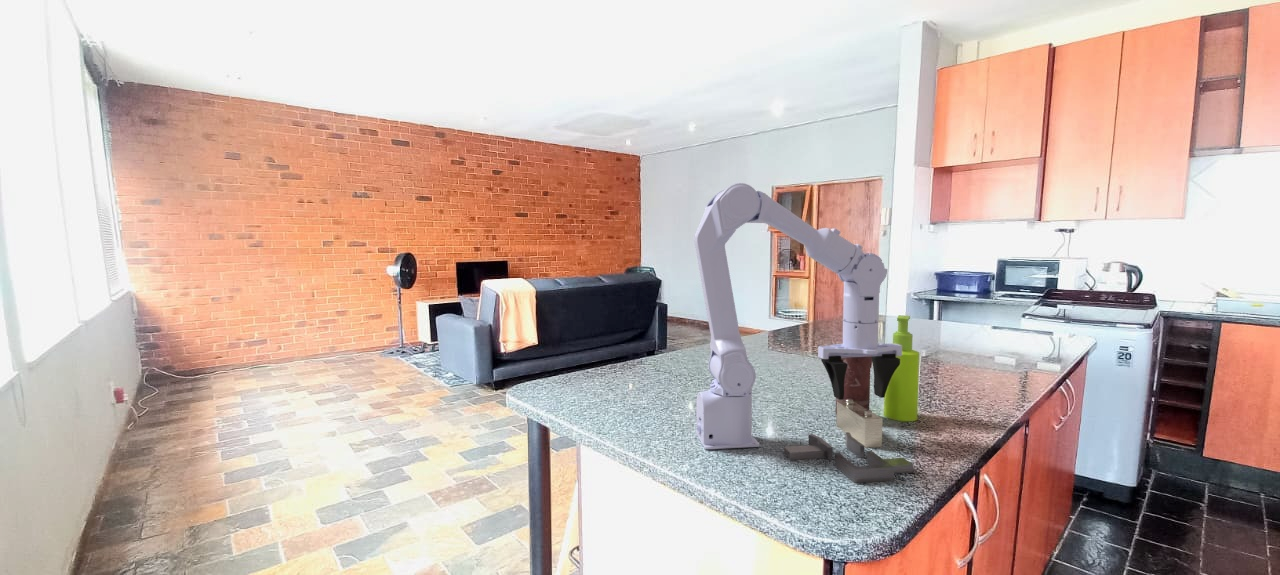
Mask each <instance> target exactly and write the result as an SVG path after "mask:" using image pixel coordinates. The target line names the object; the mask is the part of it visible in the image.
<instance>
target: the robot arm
mask: <svg viewBox="0 0 1280 575" xmlns="http://www.w3.org/2000/svg"><path fill="white" fill-rule="evenodd" d="M699 222H700V223H699V225H698V227H697V229H696V232H695V235H694V240H693V241H694V246H695V247H694V248H695V252H696V258H697V264H698V269H699V276H700V281H701V287H702V293H703V297H704V304H705V310H706V316H707V322H708V327H709V332H710V343H709V347H710V357H709V359H708V364H707V367H708V370H709V373H710V375H711V376H712V377H713V380H712V381H711V383H710V385H709V389H707V390H704V391H699V392H697V395H696V408H695V409H696V412H695V413H696V430H695V434H696V436H697V437H698V439H699V441H700V444H702V446H703V448H704V449H705V450H720V449H721V450H722V449H724V450H725V449H737V448H738V449H739V448H740V449H741V448H743V449H744V448H759V447H760V445H761V444H760V443H759V441H758V440H757V439H756V438H755V436H754V435H753V434H752V429H753V428H752V425H753V423H752V422H753V420H752V419H753V418H752V417H753V416H752V415H753V411H752V409H753V404H752V403H753V401H752V400H753V386H754V385H755V382H756V375H757V374H756V369H755V367H754V366H753V364H752V363H751V362H750V361H749V359H748V355H747V351H746V350H747V349H746V347H745V344H744V342H743V340H742V338H741V334H740V329H739V328H740V327H739V322H738V315H737V309H736V305H735V299H734V293H733V288H732V281H731V280H732V279H731V275H730V270H729V263H728V258H727V251H726V244H727V242H728V241H729V240H730V239H731V237H732V236H733V235H734V234H735V232H736V231H737V229H739V228H741V227H743V226H744V225H745V224H765V225H768V226H769V227H771V228H773V229H775V230H777V231H779V232H780V233H781V234H784V235H786V236H787V237H789V238H791V239H792V240H794V241H796V242H798V243H800V244H802V245H803V246H804V249H805V252H806V255H807V256H808V257H809V258H811V259H812V260H814V261H815V262H817V263H819V264H821V265H822V266H823V267H825V268H827V269H828V270H830V271H831V272H833V273H834V274H837V276H838V278H839V280H840V281H841V282H843V298H842V303H843V304H842V309H843V310H842V343H838V344H830V345H819V346H818V348H817V357H818V358H820V361H821V363H822V365H823V366H824V368H825V370H826V372H827V375H828V378H829V381H830V385H831V387H832V392H833V397H835V399H836V398H837V399H839V400H843V398H844V380H845V373H846V369H847V366H848V364H847V363H845V362H843V359H842V360H841V358H844V357H869V356H871V358H872V368H873V391H874V395H875V396H877V397H879V398H882V399H884V397H885V394H886V390H887V387H888V384H889V382H890V379H891V377H892V375H893V373H894V372H895V370H896V369H897V367H898V366H899V365H900V359H899V358H896V356H902V345H899V344H893V343H879V320H880V318H879V317H880V316H879V315H880V293H881V286H882V284H883V282H884V281H885V279H886V277H887V274H888V269H887V268H885V262H883V260H882V258H881V257H880V256H879V255H878V254H875V253H872V252H864V250H863V246H862V245H861V244H859V243H856V244H854V243H852V242H851V241H850V240H848V239H846V238H845V237H843V236H841V235H840V234H841V230H839V229H837V228H836V227H834V228H831V229H830V228H828V227H822V228H819V229H816V228H815V227H814V226H812V225H811V224H809V223H807V221H804V220H803V219H802V218H800V217H799V216H798V215H796V214H795V213H793V212H792V211H790V210H789V209H788V208H786V207H785V206H783V205H782V204H780V203H779V202H777V201H776V200H775V199H773V198H772V197H770V195H768V194H767V193H766V192H763V191H761V190H757V189H755V188H754V187H752V186H751V185H750V184H747V183H744V182H742V183H741V182H738V183H734V184H731V185H730V186H729V187H727V188H726V189H723V190H721V191H719V192H717V193H716V194H715V195H714V196H713V197H712V198H711V200H710V201H708V203H707V204H706V205H705V209H704V213H703V215H702V217H701V219H700V221H699ZM852 353H853V354H852Z"/></svg>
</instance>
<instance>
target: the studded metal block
mask: <svg viewBox="0 0 1280 575" xmlns="http://www.w3.org/2000/svg"><path fill="white" fill-rule="evenodd" d="M836 428H838V429H839V430H840V431H842V432H843V433H844V434H846V432H850V434H851V436H852V437H853V438H854V439H856V440H857V441H858V442H860V443H861V444H863V445H864V446H865V447H864V449H865V448H882V447H883V417H880V416H879V415H877V414H876V413H874V412H873V410H871V409H869V410H867V409H865V408H864V407H862V406H860V405H859V404H857V403H855V402H854V401H853V399H846V401H837V415H836Z"/></svg>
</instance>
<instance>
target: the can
mask: <svg viewBox="0 0 1280 575" xmlns="http://www.w3.org/2000/svg"><path fill="white" fill-rule="evenodd" d="M852 354H853V353H852ZM842 359H843V362H845V363H847V364H848V366H847V369H846V373H845V380H844V398H843V400H839V399H837V398H836V397H835V416H837V401H846V399H853V401H854V402H855V403H857V404H859V405H860V406H862V407H864V408H865V409H867V410H870V399H871V398H870V397H871V394H870V393H871V369H872V367H873V363H872V358H871V356H869V357H844V358H841V360H842Z"/></svg>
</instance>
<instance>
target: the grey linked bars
mask: <svg viewBox="0 0 1280 575" xmlns="http://www.w3.org/2000/svg"><path fill="white" fill-rule="evenodd" d="M844 437H845V438H844V439H845V440H844V441H845V442H844V443H845V446H846V448H847V449H848V450H849V451H850V452H851V453H852V454H854V455H855V456H857V457H858V458H859V459H865V446H864V445H863V444H861V443H860V442H858V441H857V440H856V439H854V438H853V437H852V436H851V434H850V432H846V433H845V436H844ZM833 452H834V449H833V447H832V445H830V444H829V443H828V442H826V441H825V440H824V439H823V438H822V437H819V436H817V435H815V434H813V433H810V434H808V444H807V445H806V444H805V445H790V446H789V445H787V446H783V454H784V456H786V457H787V459H788V460H789V461H793V460H794V461H795V460H810V459H811V460H812V459H826V460H828V461H832V460H833V456H834V466H835V468H837V469H838V471H840V472H841V473H842V474H843V475H844V476H846V477H847V478H848V479H849V480H850V481H851V482H852V483H854V484H860V483H877V482H892V481H894V480H895V474H909V473H914V464H913V463H912V462H910V461H909V460H907V459H905V458H904V457H895V458H882V457H881V456H879V455H878V454H877V453H875V452H874V451H872V450H866V453H867V454H866V465H863V466H861V465H860V466H856V465H855V464H854V463H852V462H851V461H850V460H849V459H847V458H846V457H845V456H844V455H842V454H841V453H840V452H834V454H833Z"/></svg>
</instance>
